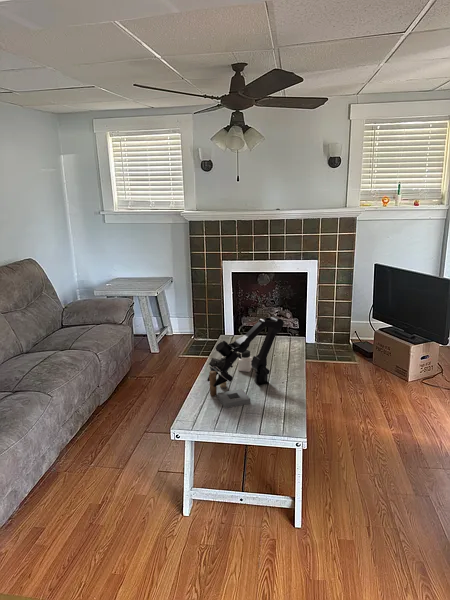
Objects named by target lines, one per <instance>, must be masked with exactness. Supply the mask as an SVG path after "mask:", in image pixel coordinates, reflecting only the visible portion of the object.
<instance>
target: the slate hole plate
mask: <svg viewBox="0 0 450 600" xmlns="http://www.w3.org/2000/svg"><path fill="white" fill-rule="evenodd" d="M216 396H217V399H218V401H219V402H220V404H221V405H222V407H223V408H224V409H227V408H232V407H239V406H244V405H249V404H251V398H250V397H249V395H248V394H247V392H245V391H244V390H243V388H239V389H234V390H228V391H227V390H226V391H221V392H217V395H216Z"/></svg>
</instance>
